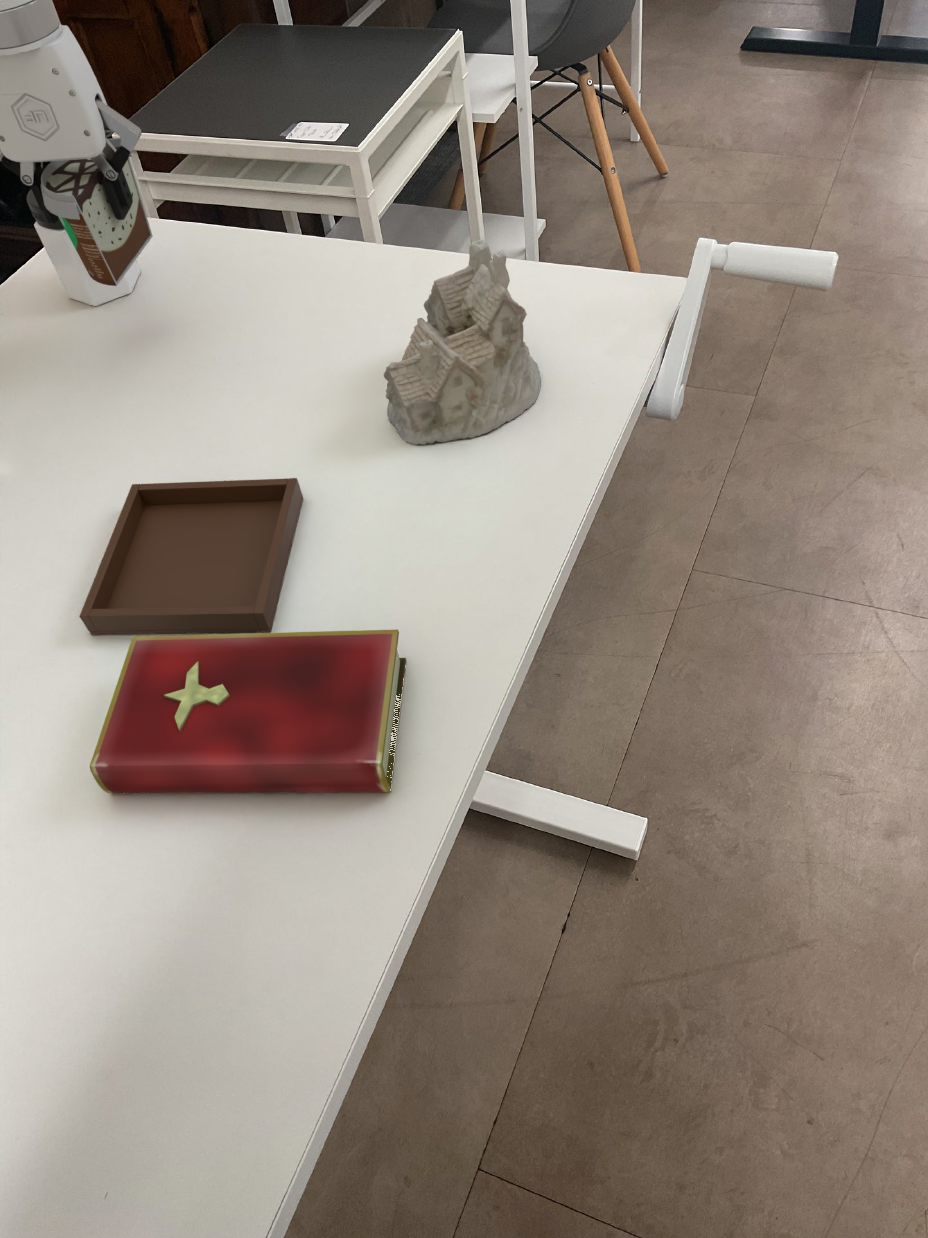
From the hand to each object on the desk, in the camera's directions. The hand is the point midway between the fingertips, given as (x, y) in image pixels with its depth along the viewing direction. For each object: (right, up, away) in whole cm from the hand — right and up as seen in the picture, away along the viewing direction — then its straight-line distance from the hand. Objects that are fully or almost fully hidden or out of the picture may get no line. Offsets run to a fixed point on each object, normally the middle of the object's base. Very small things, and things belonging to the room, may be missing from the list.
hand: (90, 213), depth 101 cm
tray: (+14, -36, -13) cm, 41 cm away
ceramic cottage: (+37, -18, -1) cm, 41 cm away
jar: (-5, -1, +18) cm, 19 cm away
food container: (0, -3, +4) cm, 5 cm away
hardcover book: (+22, -49, -25) cm, 59 cm away
